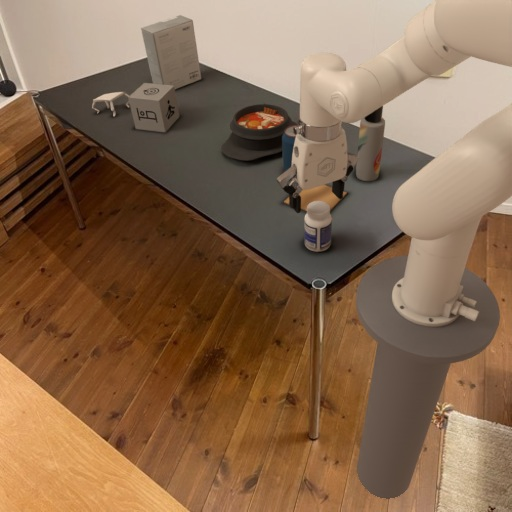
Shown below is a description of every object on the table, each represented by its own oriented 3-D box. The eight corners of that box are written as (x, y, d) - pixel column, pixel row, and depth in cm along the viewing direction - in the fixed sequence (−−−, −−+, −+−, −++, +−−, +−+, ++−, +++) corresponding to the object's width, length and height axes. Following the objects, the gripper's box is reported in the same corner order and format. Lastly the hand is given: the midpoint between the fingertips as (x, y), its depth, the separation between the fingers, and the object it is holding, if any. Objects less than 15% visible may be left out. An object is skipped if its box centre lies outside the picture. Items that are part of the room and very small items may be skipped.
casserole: (267, 117, 154) (266, 90, 148) (316, 136, 144) (316, 108, 138) (206, 151, 141) (203, 124, 135) (255, 175, 131) (253, 146, 125)
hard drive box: (189, 73, 181) (181, 14, 168) (202, 79, 177) (194, 19, 163) (152, 87, 174) (140, 27, 161) (164, 94, 170) (152, 32, 156)
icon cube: (135, 128, 153) (128, 97, 146) (151, 113, 160) (144, 82, 153) (165, 132, 150) (158, 100, 144) (179, 116, 157) (174, 85, 150)
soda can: (314, 175, 129) (315, 133, 121) (289, 182, 128) (289, 140, 119) (302, 162, 134) (302, 120, 126) (278, 169, 132) (277, 127, 124)
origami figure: (105, 121, 158) (101, 106, 155) (92, 112, 163) (88, 98, 159) (138, 107, 163) (135, 93, 160) (125, 100, 168) (121, 85, 165)
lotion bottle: (382, 172, 128) (391, 98, 115) (373, 184, 125) (382, 108, 111) (361, 167, 131) (368, 93, 117) (352, 178, 127) (358, 103, 114)
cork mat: (347, 193, 123) (347, 192, 122) (323, 217, 116) (323, 216, 116) (308, 180, 128) (308, 179, 128) (283, 202, 122) (283, 201, 121)
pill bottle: (328, 234, 112) (330, 197, 105) (332, 251, 108) (334, 214, 101) (302, 236, 112) (303, 199, 105) (305, 253, 108) (305, 216, 101)
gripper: (287, 148, 86) (287, 225, 98) (372, 123, 91) (363, 199, 103) (267, 128, 91) (270, 204, 103) (350, 106, 96) (343, 180, 108)
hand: (316, 202), depth 103 cm, fingers open, 9 cm apart
